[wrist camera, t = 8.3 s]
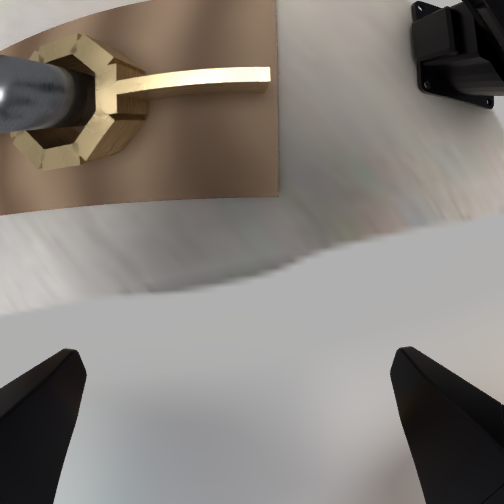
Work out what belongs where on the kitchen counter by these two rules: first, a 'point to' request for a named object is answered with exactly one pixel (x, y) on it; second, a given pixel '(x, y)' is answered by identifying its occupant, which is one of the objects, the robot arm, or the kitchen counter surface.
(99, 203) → the walnut board
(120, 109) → the brass hinge
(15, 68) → the hinge pin
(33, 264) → the kitchen counter surface
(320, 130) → the kitchen counter surface
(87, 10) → the kitchen counter surface
